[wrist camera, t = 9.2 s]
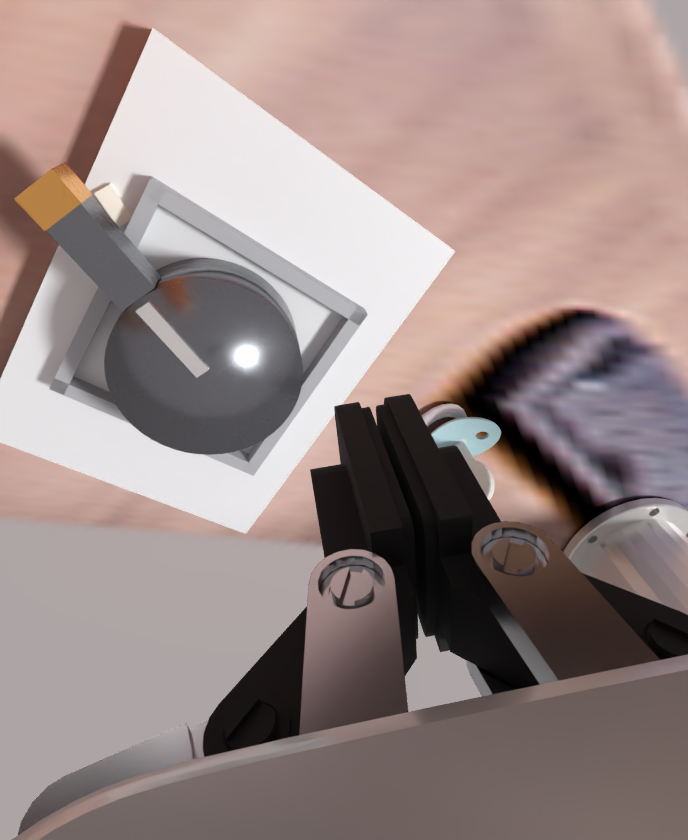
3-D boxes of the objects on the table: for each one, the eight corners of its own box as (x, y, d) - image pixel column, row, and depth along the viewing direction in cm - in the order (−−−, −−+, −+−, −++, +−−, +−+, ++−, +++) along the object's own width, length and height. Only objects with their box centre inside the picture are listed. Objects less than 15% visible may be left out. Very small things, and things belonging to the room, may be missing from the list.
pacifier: (380, 464, 41) (445, 489, 43) (398, 520, 36) (471, 545, 38) (433, 384, 38) (501, 415, 40) (461, 432, 33) (537, 465, 35)
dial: (328, 361, 34) (339, 394, 30) (199, 444, 35) (194, 485, 32) (141, 105, 25) (124, 110, 22) (-17, 230, 27) (-57, 253, 24)
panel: (446, 244, 33) (461, 256, 30) (245, 519, 41) (245, 543, 39) (157, 30, 25) (149, 26, 23) (-13, 419, 34) (-31, 443, 32)
